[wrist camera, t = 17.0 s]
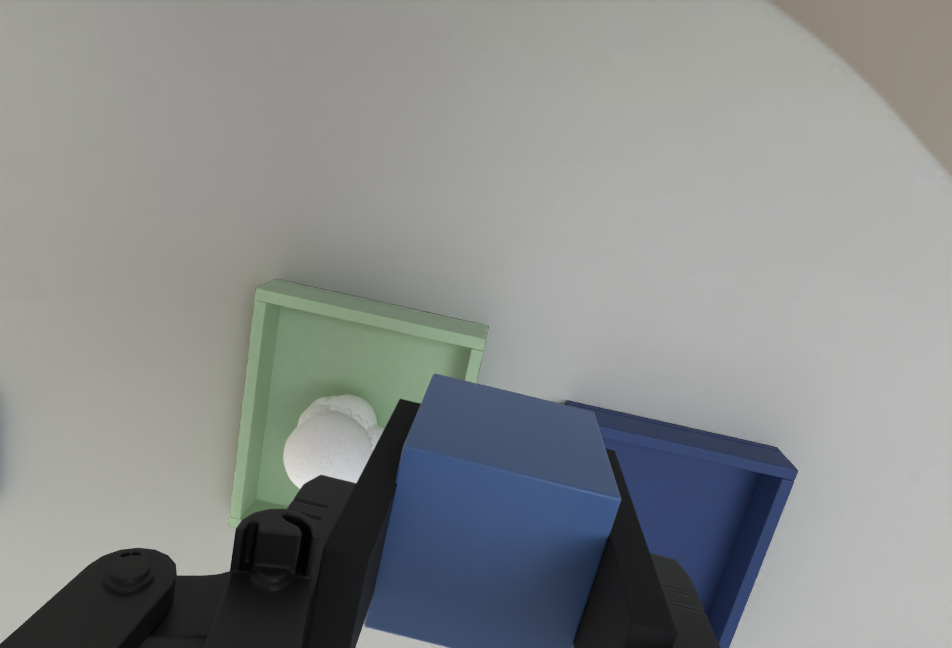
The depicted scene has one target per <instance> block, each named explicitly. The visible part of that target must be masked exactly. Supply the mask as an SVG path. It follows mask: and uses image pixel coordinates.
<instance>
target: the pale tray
mask: <svg viewBox="0 0 952 648" xmlns="http://www.w3.org/2000/svg"><path fill="white" fill-rule="evenodd" d="M254 299H255V300H254V307H253V316H252V325H251V333H250V342H249V351H248V359H247V368H246V377H245V385H244V394H243V403H242V411H241V420H240V429H239V437H238V446H237V455H236V464H235V472H234V481H233V490H232V498H231V507H230V517H229V526H230V527H235V528H237V526H238V525H239V524H240V522H241V521H242V520H243V519H244V518H246V517H247V516H249V515H251V514H253V513H254V512H258V511H262V510H266V509H287V508H288V506H289V505H290V503H291V502H292V501H293V500H294V497H295V496H296V495H297V493H298V492H299V490H300V489H299V488H298V487H297V486H296V485H294V483H293V482H292V481H291V480H290V478H289V476H288V474H287V472H286V469H285V466H284V460H283V453H284V447H285V443H286V441H287V439H288V437H289V436H290V434H291V433H292V432H293V431H294V429H295V428H297V425H298V421H299V418H300V416H301V414H302V413H303V412H304V411H305V410H306V409H308V408H309V406H310V405H311V404H312V403H313V402H314V401H315V400H317V399H319V398H321V397H329V396H340V395H346V394H349V395H354V396H358V397H361V398H363V399H364V400H366V401H367V402H368V403H369V404H370V405H371V407H372V408H373V410H374V412H375V414H376V418H377V425H378V426H380V427H382V428H384V429H385V427H386V425H387V423H388V421H389V419H390V417H391V415H392V413H393V411H394V409H395V407H396V405H397V403H398V401H399V400H400V399H404V400H408V401H412V402H416V403H420V404H421V402H422V400H423V397H424V395H425V393H426V390H427V388H428V386H429V383H430V381H431V378H432V376H433V374H440V375H444V376H448V377H452V378H456V379H460V380H464V381H469V382H473V383H477V379H478V374H479V370H480V366H481V361H482V357H483V352H484V348H485V343H486V339H487V334H488V328H489V326H486V325H482V324H477V323H473V322H468V321H464V320H459V319H455V318H450V317H446V316H441V315H437V314H432V313H428V312H423V311H419V310H414V309H410V308H405V307H401V306H396V305H392V304H387V303H383V302H378V301H374V300H369V299H365V298H360V297H356V296H351V295H347V294H342V293H338V292H333V291H329V290H324V289H320V288H315V287H311V286H306V285H302V284H297V283H293V282H288V281H284V280H279V279H275V280H273V281H270V282H268V283H266V284H264V285H262V286H259V287H257V288H256V290H255V298H254ZM371 445H372V444H371Z"/></svg>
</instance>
